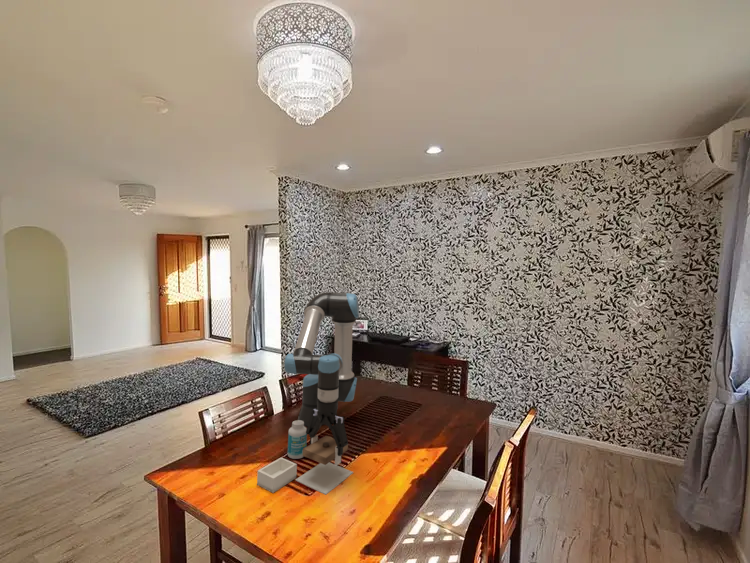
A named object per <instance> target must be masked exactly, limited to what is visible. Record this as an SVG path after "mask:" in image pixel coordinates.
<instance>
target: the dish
mask: <svg viewBox="0 0 750 563" xmlns="http://www.w3.org/2000/svg"><path fill="white" fill-rule="evenodd" d="M297 468H298V464H297V463H295V462H293V461H290V460H289V459H287V458H285V457H284V458H283V457H282V456H281V457H279V458H277V459H276V460H273V461H272V462H270V463H269V464H267V465H265V466H263V467H262V468H260V469H257V477H256V478H257V479H256V480H257V482H256V485H257V486H258V487H260V488H262V489H264V490H266V491H269V493H272V494H274V493H275V492H277V491H279V489H282V488H283V487H285V486H286V485H288V484H289V483H290V482H292V481H293V480H296V479H297V473H298V471H297V470H298V469H297Z"/></svg>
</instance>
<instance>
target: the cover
mask: <svg viewBox="0 0 750 563" xmlns="http://www.w3.org/2000/svg"><path fill="white" fill-rule="evenodd" d="M336 446H337V444H336V442H335V439H334V437H333V436H330V435H324V436H323V437H321V438H319V439H318V441H316V442H314V443H312V444H310V443H309V444H308V445H306V447H305V448H303V456H304V457H305V458H308V459H310V460H312V461H315V462H317V463H318V464H320V463H322V464H324V465H326V464H328V463H329V462H330V463H332V461H333V460H334V461H335V447H336ZM348 450H349V444H348V445H346V446H345V447H343V454H344V453H345V452H347V451H348Z"/></svg>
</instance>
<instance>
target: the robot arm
mask: <svg viewBox="0 0 750 563" xmlns="http://www.w3.org/2000/svg"><path fill="white" fill-rule="evenodd" d="M303 316H304V318H303V322H302V325H301V328H300V331H299V335H298V338H297V341H296V344H295V348H294V350H293V352H292V353H287V355H285V357H284V362H283V366H284V367H283V368H284V372H286V373H288V374H291V375H292V374H293V375H305V376H304V377H303V379H302V400H301V401H302V403H301V407H300V410H299V414H298V416H297V417H298V418H297V420H301V421H303V422H304V427H306V429H307V430H306V434H307V435H309V436H308V437H309V439H310V440H309V445H310V444H312V443H314V442H316V441H318V440H319V439H318V438H319V436H318V432H319V431H320V429H321V427H322V426H323V425H325V426H327V427H328V428H329V430H330V431H331V434H332V438H334V439H335V442H336V444H337V446H336V447H335V459H334V464H335V465H337V466H339V464H340V463H342V455H343V454H344V453H343V447H345V446H346V445H348V446H349V442H348V441H349V440H348V435H347V431H346V427H345V426H346V425H345V416H338V409H339V402H343V403H345V402H352V401H354V398H355V394H356V388H357V381H358V378H357V377H355V373H354V372H353V371H352V362H353V361H352V359H353V358H352V357H353V355H352V354H353V328H354V324H355V323H356V322H357V319H358V318H359V317H360V307H359V299H358V296H357V294H355V293H349V292H322V293H319V294H317V295H315V296H313V298H311V299H310V301H309V302H308V303H307V304H306V306H305V308H304V312H303ZM325 317H330V318H331V322H332V323H333V324H334V349H333V350H334V353H330V354H326V355H324V354H323V355H322V354H314V350H315V346H316V342H317V338H318V334H319V332H320V327H321V323H322V321H323V320H324V318H325Z"/></svg>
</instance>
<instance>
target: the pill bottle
mask: <svg viewBox="0 0 750 563" xmlns="http://www.w3.org/2000/svg"><path fill="white" fill-rule="evenodd" d="M306 430H307V426H304V422H303V421H301V420H298V419H297V420H294V421H292V423H291V427H289V428H288V433H287V434H288V435H287V437H288V438H287V457H289V458H290V459H292V460H299V459H300V460H301V459H302V458H304V457H305V456H303V448H305V447H307V443H308V440H307V439H308V437H307V436H308V434H306Z"/></svg>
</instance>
